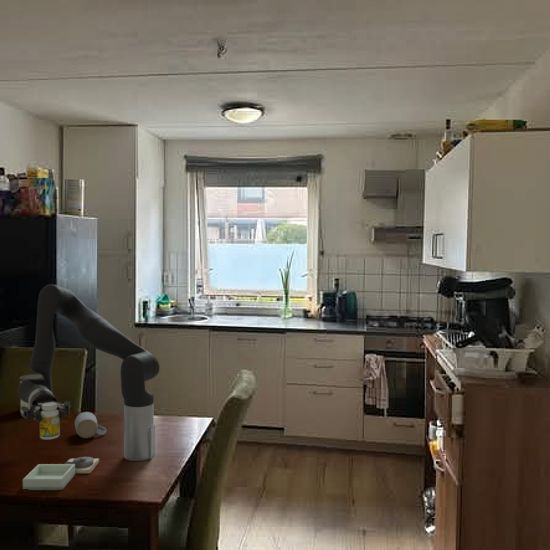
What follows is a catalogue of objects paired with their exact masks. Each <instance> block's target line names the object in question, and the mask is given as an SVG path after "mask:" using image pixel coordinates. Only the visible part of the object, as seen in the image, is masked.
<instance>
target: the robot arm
mask: <svg viewBox="0 0 550 550" xmlns="http://www.w3.org/2000/svg"><path fill="white" fill-rule="evenodd" d="M36 308H37V312H36V313H37V314H36V325H35V327H36V329H35V339H34V343H33V350H32V354H31V359H30V364H29V370H30V371H31V372H33V373H35V374H41V375H42V377H43V380H35V379H25V380H23V381H22V382H21V383H20V382H19V385H18V387H17V393H18V394H17V395H18V397H19V400H20V399H21V400H22V401H24V402H26V403H29V407H30V408H28V407H25V406H23V407H21V412H20V415H21V417H23V418H24V419H26V420H27V421H30V420H31V419H32V418H33V420H34V421H35V422H36V421H37V423H40V422H41V414H40V413H41V412H42V411H43V410H42V404H44V403H48V402H55V403H57V408H56V409H57V410H58V411H59V413H60V420H62V419H64V418H65V417H66V415H67V416H68V415H70V412H71V411H70V410H71V408H70V407H71V401H69V400H66V401H65V402H64V403H61V402H60V401H59V402H58V399H57V398H56V396H55V395H54V394H53V382H52V381H53V380H52V369H53V364H54V360H55V356H56V355H55V354H56V340H55V339H56V338H55V333H54V317H55V314H59V315H61V316H62V317H65V319H67V320H69V321H70V322H72V324H73V325H74V326H75V327H76V330H77V332H78V334H79V335H80V336H81V338H83V340H85V342H87V343H88V344H89V345H91V346H92V347H93V348H94V349H96V350H99V351H101V352H104V353H106V354H109V355H110V356H114V357H117V358H120V359H121V360H122V363H121V365H120V383H121V384H120V386H121V395H122V398H123V403H124V404H123V407H124V408H123V409H124V410H123V411H124V413H123V415H124V416H123V418H124V419H123V421H124V422H123V424H124V426H123V431H124V432H123V434H124V435H123V443H124V445H123V446H124V447H123V448H124V449H123V453H124V455H123V456H124V459H125V460H127V461H129V462H141V461H146V460H152V459H153V457H154V455H155V454H156V424H155V421H154V418H155V417H154V413H155V412H154V411H155V410H154V407H155V406H154V404H155V403H154V402H155V401H154V400H155V396H154V394H153V393H152V392H151V391H146V384H145V383H146V382H148V381H150V380H152V379H154V378H156V377H157V376H158V375H159V373H160V363H159V360H158V359H157V357H156V356H155V355H154V354H153V353H152V352H150V351H148V350H147V349H146V348H144V347H142V346H140V345H139V344H137V343H136V342H134V341H133V340H131V339H130V338H129V337H127V336H126V335H125V334H124V333H122V332H121V331H119V330H118V329H117V328H116V327H114V325H113V324H111V323H110V322H109V321H107V320H106V319H105V318H103V317H102V316H101V315H99V314H98V313H96V312H95V311H94V310H92V309H91V308H89V307H87V306H86V305H85V304H84V302H82V301H81V299H79V297H78V296H76V294H75V293H74V292H73V291H71V290H70V289H69V288H67V287H62V286H61V285H57V284H46V285H45V286H43V288H41V289H40V292H39V294H38V299H37V307H36Z"/></svg>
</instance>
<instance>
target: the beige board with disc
mask: <svg viewBox="0 0 550 550" xmlns="http://www.w3.org/2000/svg"><path fill="white" fill-rule="evenodd" d="M99 463H100V458H93V457H92V456H80V457H76V458H69V459H68V460H67V461H66V462H65V463H64V464H75V474H91V473H92V472H93V470H94V469H95V468H96V466H97V465H98V464H99Z"/></svg>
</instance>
